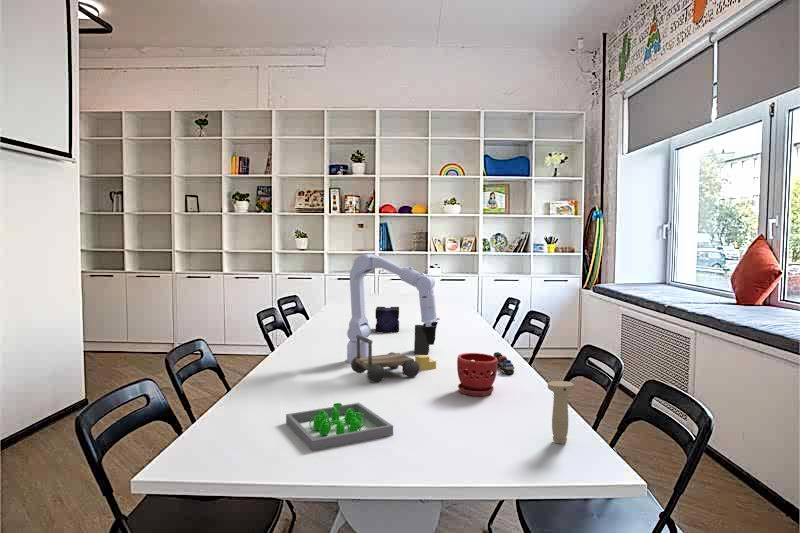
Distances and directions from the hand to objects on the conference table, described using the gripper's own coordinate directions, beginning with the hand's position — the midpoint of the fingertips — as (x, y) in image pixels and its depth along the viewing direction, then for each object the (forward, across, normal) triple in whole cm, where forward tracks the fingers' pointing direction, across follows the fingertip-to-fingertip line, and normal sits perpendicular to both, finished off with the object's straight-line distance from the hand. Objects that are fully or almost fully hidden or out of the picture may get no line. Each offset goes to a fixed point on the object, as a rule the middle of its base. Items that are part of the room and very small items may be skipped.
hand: (431, 342), depth 212 cm
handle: (+16, -68, -34) cm, 78 cm away
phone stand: (+9, +30, +7) cm, 32 cm away
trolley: (+9, -9, +18) cm, 22 cm away
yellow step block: (+10, +2, +4) cm, 11 cm away
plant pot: (+13, -27, -15) cm, 34 cm away
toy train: (+14, +6, -26) cm, 30 cm away
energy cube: (+5, +80, +28) cm, 84 cm away
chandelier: (+10, -65, +23) cm, 70 cm away
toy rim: (+10, -65, +23) cm, 70 cm away
